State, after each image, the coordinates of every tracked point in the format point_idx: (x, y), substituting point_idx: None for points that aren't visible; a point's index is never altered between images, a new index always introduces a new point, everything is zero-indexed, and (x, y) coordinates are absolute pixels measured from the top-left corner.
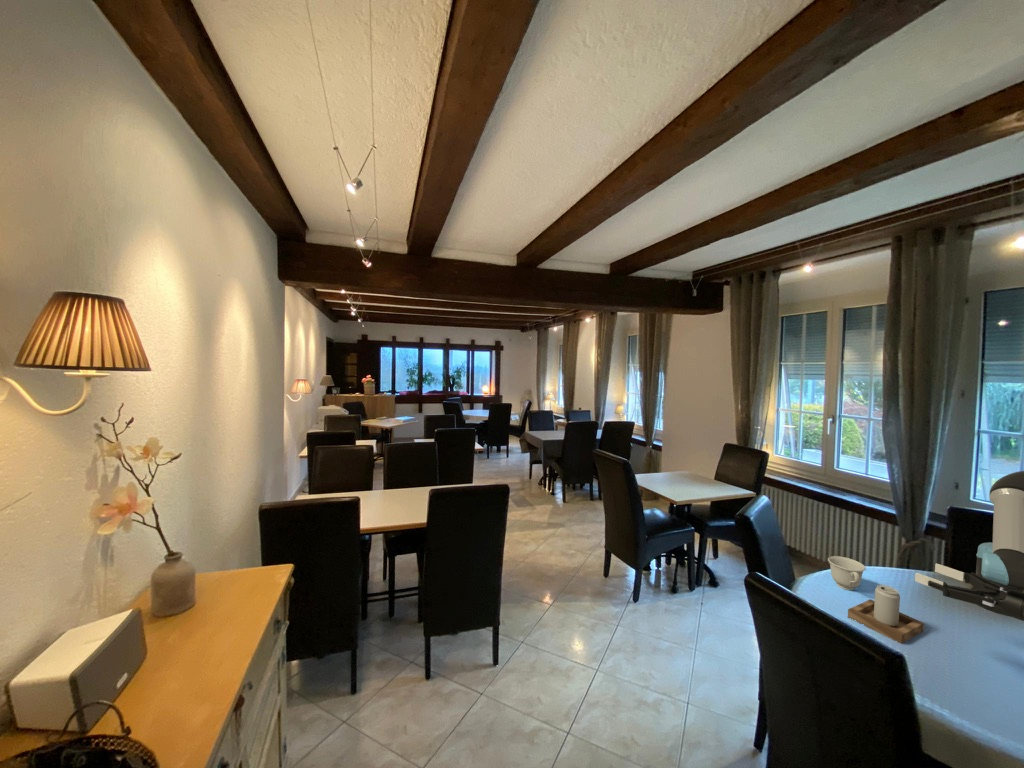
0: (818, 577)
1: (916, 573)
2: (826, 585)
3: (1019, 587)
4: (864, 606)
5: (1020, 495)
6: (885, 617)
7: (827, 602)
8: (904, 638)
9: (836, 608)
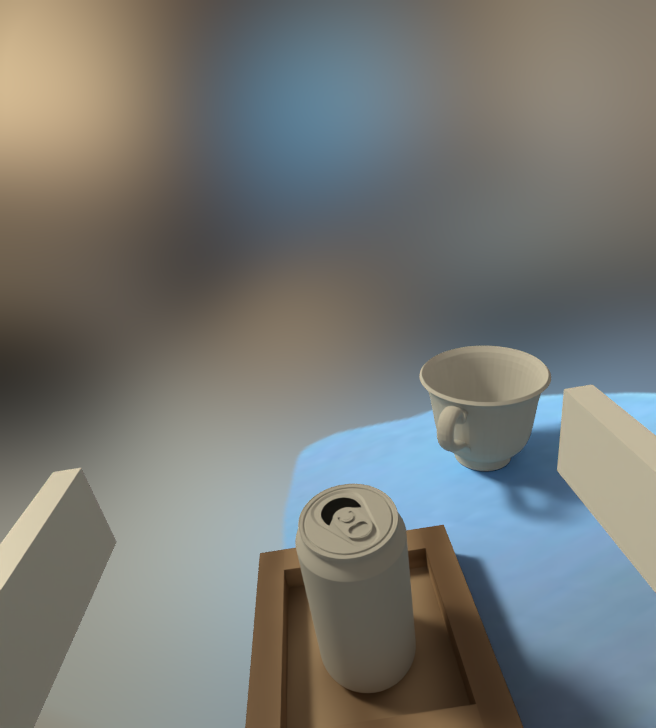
0: None
1: (50, 479)
2: (416, 443)
3: None
4: None
5: None
6: (318, 642)
7: (306, 503)
8: None
9: (295, 532)
